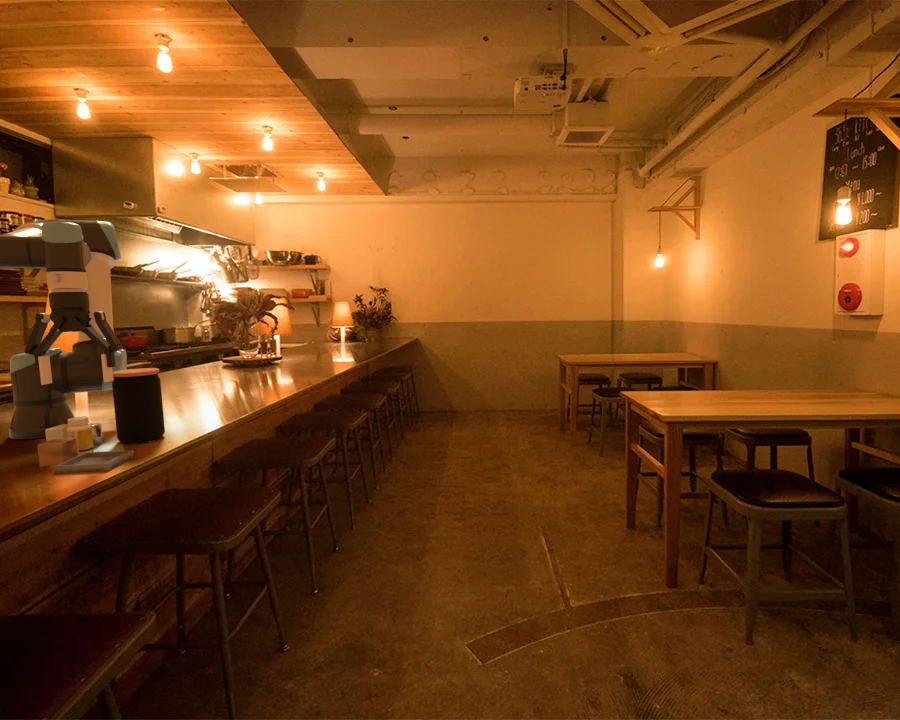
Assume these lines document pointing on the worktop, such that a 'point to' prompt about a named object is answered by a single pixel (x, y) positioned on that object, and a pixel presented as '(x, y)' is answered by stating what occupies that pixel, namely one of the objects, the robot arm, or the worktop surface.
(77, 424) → the supplement bottle
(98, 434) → the chrome cylinder
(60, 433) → the sage block
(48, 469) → the worktop surface
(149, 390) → the coffee jar
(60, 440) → the walnut block
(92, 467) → the slate tray
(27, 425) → the robot arm
